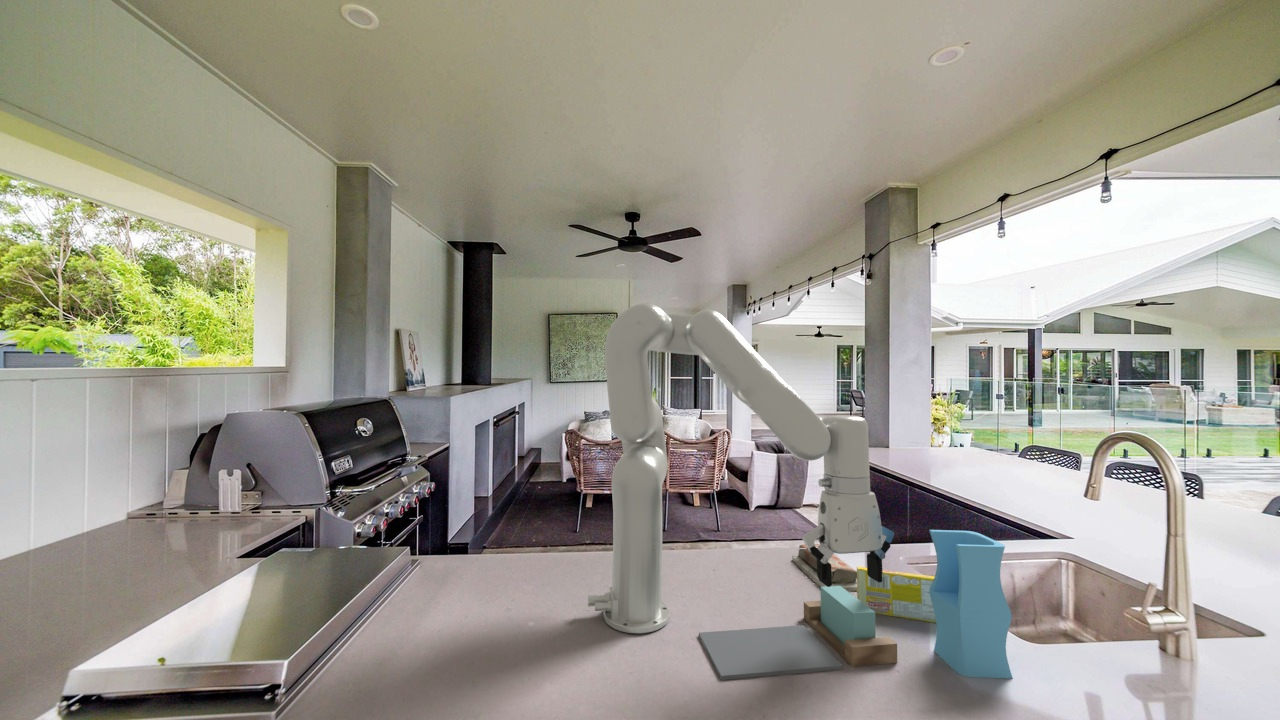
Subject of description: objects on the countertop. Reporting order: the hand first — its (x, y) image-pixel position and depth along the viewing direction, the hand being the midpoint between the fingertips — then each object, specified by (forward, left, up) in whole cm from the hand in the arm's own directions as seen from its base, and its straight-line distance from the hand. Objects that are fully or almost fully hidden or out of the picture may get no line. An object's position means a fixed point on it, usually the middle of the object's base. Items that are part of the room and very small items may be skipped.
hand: (850, 581), depth 81 cm
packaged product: (+11, +26, -11) cm, 30 cm away
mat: (-17, -2, -10) cm, 19 cm away
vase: (+15, -9, -10) cm, 20 cm away
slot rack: (-1, 0, -10) cm, 10 cm away
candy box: (+15, +6, -10) cm, 20 cm away
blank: (-1, 0, -10) cm, 10 cm away
